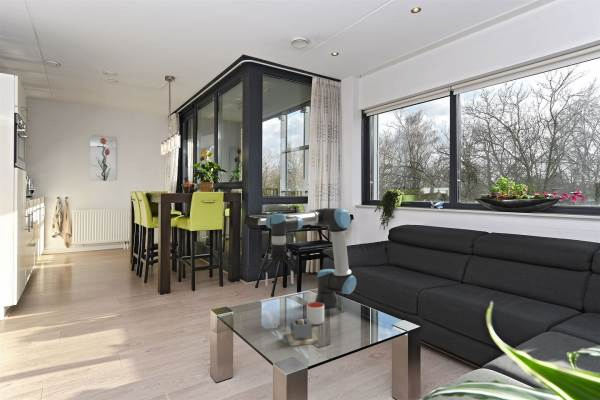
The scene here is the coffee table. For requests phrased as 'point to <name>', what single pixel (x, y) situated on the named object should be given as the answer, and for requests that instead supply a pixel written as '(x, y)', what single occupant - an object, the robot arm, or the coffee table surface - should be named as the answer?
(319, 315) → the cup
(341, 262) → the robot arm
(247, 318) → the coffee table surface
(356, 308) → the coffee table surface
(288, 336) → the shaft block
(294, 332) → the collar
